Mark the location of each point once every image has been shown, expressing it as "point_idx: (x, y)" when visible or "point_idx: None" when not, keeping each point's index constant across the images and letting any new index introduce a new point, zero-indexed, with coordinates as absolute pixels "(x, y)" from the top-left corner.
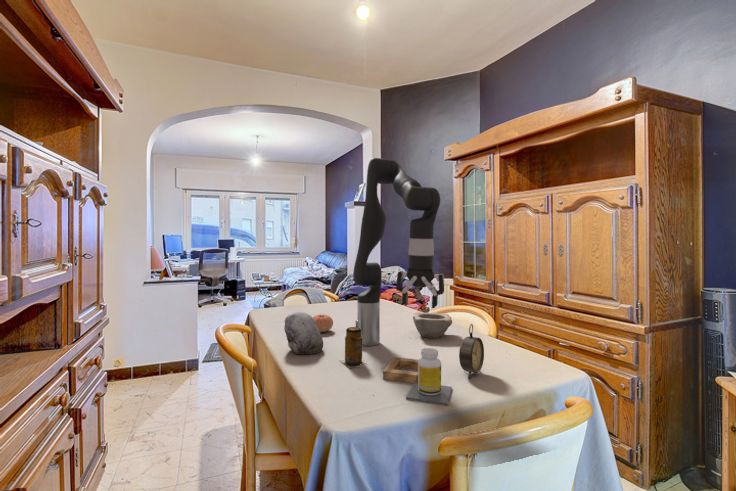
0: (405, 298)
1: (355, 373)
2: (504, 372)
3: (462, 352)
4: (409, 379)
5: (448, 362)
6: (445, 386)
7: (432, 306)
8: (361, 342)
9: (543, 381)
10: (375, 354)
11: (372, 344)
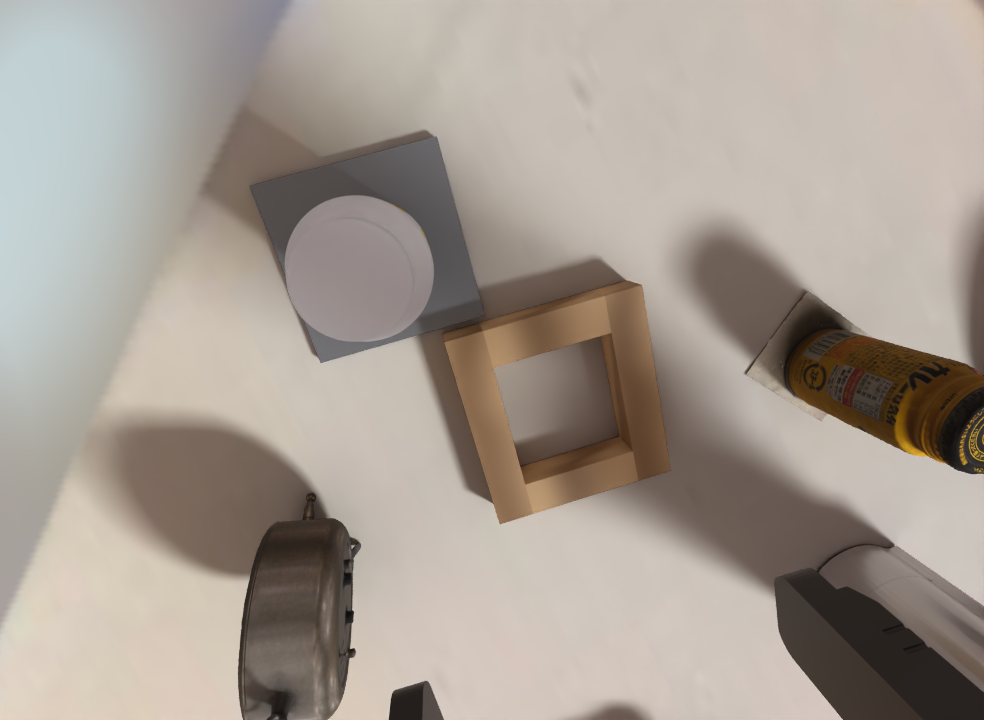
0: (878, 654)
1: (758, 261)
2: (223, 638)
3: (311, 563)
4: (511, 316)
5: (465, 597)
6: (345, 349)
7: (413, 698)
8: (870, 413)
9: (49, 647)
10: (771, 496)
11: (827, 571)
